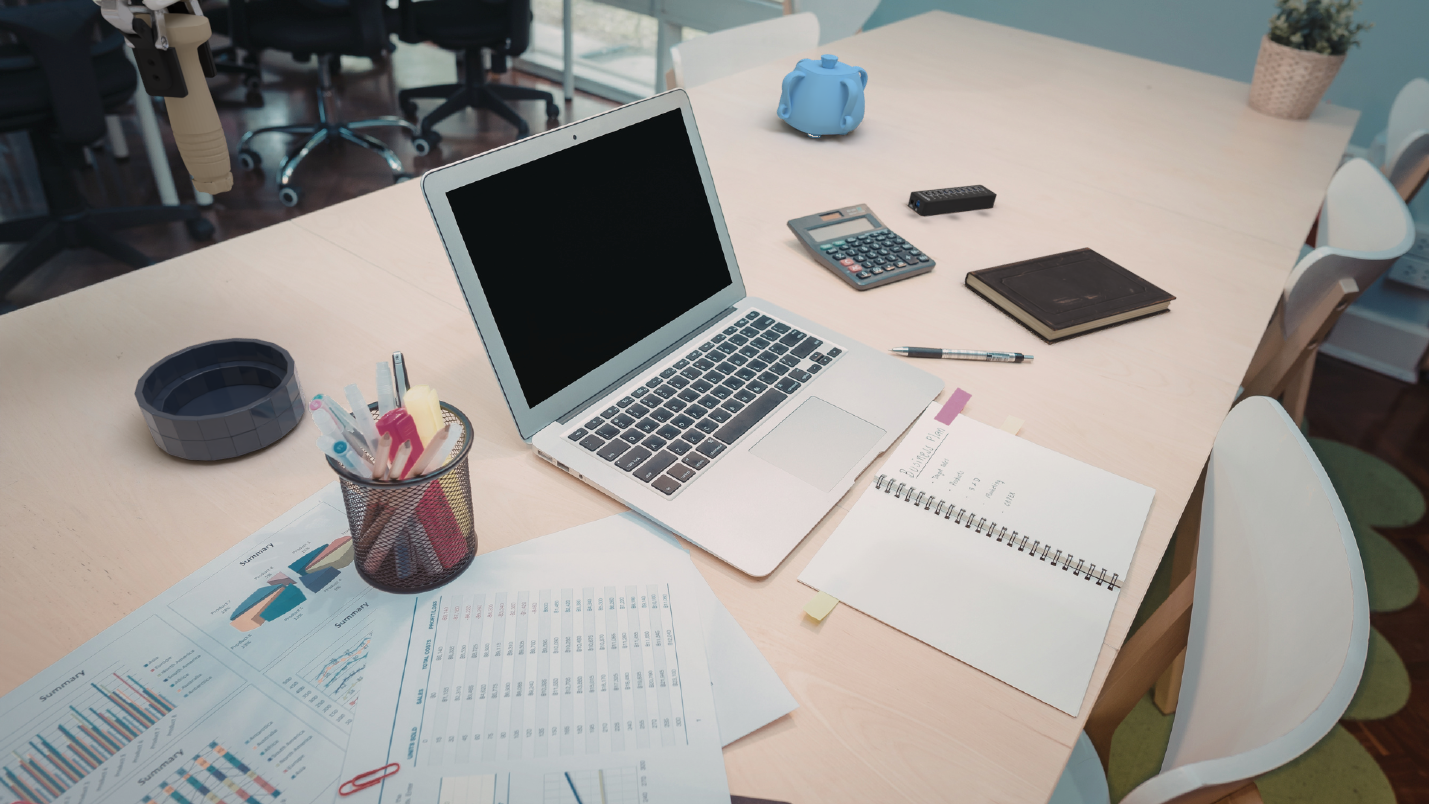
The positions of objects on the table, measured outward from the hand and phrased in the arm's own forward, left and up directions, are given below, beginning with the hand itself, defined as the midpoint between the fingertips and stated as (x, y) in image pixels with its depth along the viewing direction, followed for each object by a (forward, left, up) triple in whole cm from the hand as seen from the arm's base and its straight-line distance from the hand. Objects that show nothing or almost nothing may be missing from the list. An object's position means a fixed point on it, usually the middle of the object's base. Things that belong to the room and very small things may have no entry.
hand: (183, 83), depth 72 cm
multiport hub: (+91, +47, -27) cm, 106 cm away
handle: (0, 0, -10) cm, 10 cm away
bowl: (+3, -14, -27) cm, 30 cm away
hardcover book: (+99, +18, -27) cm, 104 cm away
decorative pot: (+74, +81, -27) cm, 113 cm away
